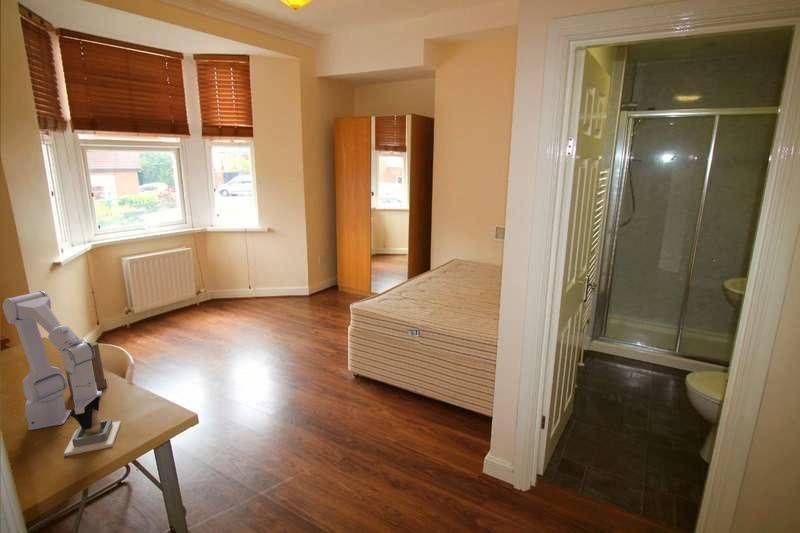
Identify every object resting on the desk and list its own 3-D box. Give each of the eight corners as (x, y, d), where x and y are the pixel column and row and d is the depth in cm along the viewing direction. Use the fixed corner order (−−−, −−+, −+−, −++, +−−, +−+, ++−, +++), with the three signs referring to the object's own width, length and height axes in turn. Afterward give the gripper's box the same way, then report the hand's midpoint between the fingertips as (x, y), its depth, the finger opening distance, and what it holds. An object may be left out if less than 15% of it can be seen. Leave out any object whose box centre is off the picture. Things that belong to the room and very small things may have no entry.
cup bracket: (64, 456, 123) (62, 445, 122) (77, 431, 134) (75, 422, 133) (112, 446, 127) (110, 436, 127) (121, 423, 138) (119, 414, 137)
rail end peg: (84, 441, 128) (80, 418, 126) (88, 433, 131) (84, 411, 129) (100, 438, 129) (96, 415, 127) (103, 430, 133) (99, 408, 131)
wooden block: (70, 394, 154) (61, 350, 149) (104, 383, 162) (97, 340, 157) (72, 398, 152) (63, 353, 147) (107, 387, 159) (99, 343, 155)
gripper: (92, 391, 120) (100, 432, 124) (105, 368, 133) (111, 405, 137) (62, 396, 118) (71, 437, 121) (78, 372, 131) (85, 410, 134)
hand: (90, 421), depth 129 cm, fingers open, 7 cm apart
